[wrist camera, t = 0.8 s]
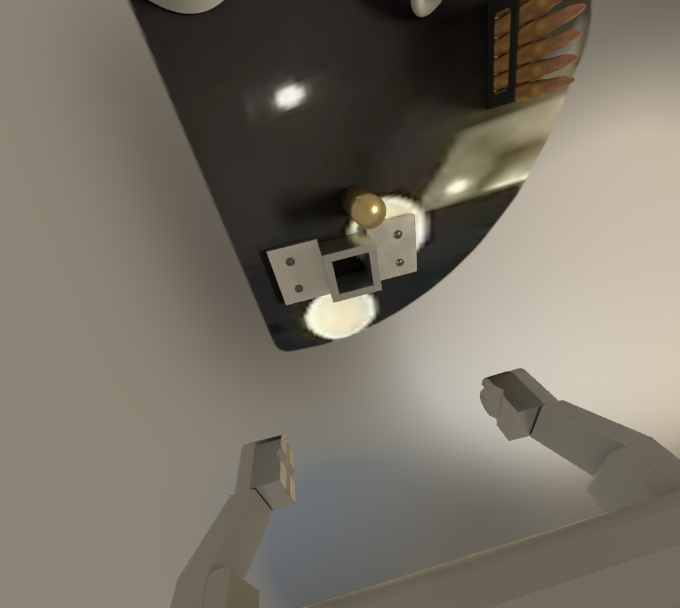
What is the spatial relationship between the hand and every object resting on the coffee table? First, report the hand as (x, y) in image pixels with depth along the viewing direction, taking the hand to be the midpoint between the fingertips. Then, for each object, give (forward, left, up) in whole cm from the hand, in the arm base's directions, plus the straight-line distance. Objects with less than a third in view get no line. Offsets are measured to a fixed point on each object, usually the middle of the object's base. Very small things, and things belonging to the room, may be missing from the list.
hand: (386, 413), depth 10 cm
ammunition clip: (-14, +28, -35) cm, 47 cm away
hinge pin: (-1, +7, -35) cm, 35 cm away
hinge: (+8, +4, -35) cm, 36 cm away
